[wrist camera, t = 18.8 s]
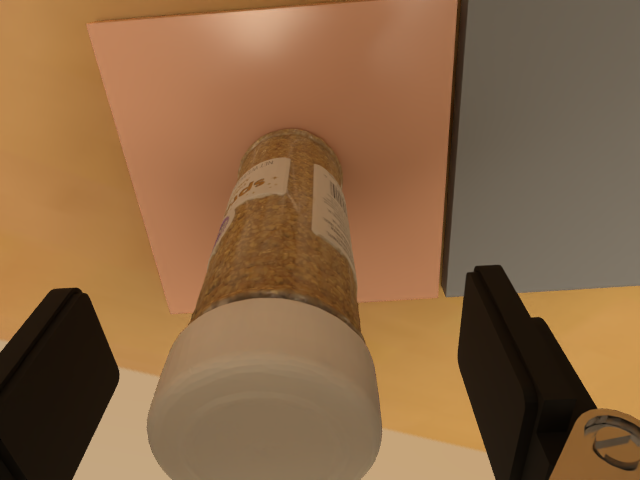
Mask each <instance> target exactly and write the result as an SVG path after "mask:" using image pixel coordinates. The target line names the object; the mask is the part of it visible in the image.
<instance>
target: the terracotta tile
mask: <svg viewBox="0 0 640 480" xmlns="http://www.w3.org/2000/svg"><path fill="white" fill-rule="evenodd" d="M457 1H458V0H354V1H341V2H329V3H316V4H304V5H292V6H279V7H267V8H254V9H242V10H229V11H217V12H204V13H192V14H180V15H167V16H155V17H142V18H130V19H117V20H105V21H95V22H92V23H88V24H86V26H87V29H88V33H89V36H90V40H91V43H92V46H93V50H94V53H95V57H96V60H97V64H98V67H99V70H100V74H101V77H102V81H103V84H104V88H105V91H106V94H107V98H108V101H109V105H110V108H111V112H112V115H113V118H114V122H115V125H116V129H117V132H118V136H119V139H120V142H121V146H122V149H123V153H124V156H125V160H126V163H127V166H128V170H129V173H130V177H131V180H132V184H133V187H134V190H135V194H136V197H137V201H138V204H139V208H140V211H141V214H142V218H143V221H144V225H145V228H146V232H147V235H148V238H149V242H150V245H151V249H152V252H153V256H154V259H155V262H156V266H157V269H158V273H159V276H160V280H161V283H162V286H163V290H164V293H165V297H166V300H167V304H168V307H169V310H170V314H180V313H193V312H194V310H195V308H196V304H197V300H198V297H199V294H200V291H201V289H202V286H203V283H204V280H205V275H206V273H207V266H208V261H209V259H210V256H211V253H212V250H213V247H214V245H215V242H216V239H217V236H218V233H219V230H220V227H221V224H222V221H223V217H224V214H225V211H226V208H227V205H228V202H229V199H230V196H231V193H232V191H233V189H234V187H235V185H236V183H237V180H238V169H239V166H240V161H241V159H242V157H243V156H244V154H245V153H246V151H247V150H248V149H249V147H250V146H251V145H252V144H253V143H254V142H255V141H257V140H258V139H259V138H260V137H262V136H264V135H266V134H268V133H271V132H274V131H279V130H282V129H300V130H304V131H307V132H309V133H311V134H313V135H315V136H316V137H319V138H321V139H322V140H323V141H324V142H325V143H326V144H328V146H329V147H330V148H331V149H333V151H334V153H335V154H336V156H337V158H338V160H339V162H340V164H341V168H342V172H343V185H342V192H343V194H344V197H345V201H346V208H347V215H348V222H349V229H350V237H351V245H352V251H353V258H354V264H355V271H356V278H357V302H358V303H361V302H377V301H394V300H410V299H426V298H438V290H439V275H440V259H441V244H442V229H443V214H444V199H445V183H446V168H447V153H448V138H449V122H450V107H451V92H452V77H453V62H454V46H455V31H456V16H457Z"/></svg>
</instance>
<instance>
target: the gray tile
mask: <svg viewBox="0 0 640 480" xmlns="http://www.w3.org/2000/svg"><path fill="white" fill-rule="evenodd" d="M482 265H501V266H502V267H503V269H504V271H505V273H506V274H507V276H508V278H509V280H510V282H511V283H512V285H513V287H514V289H515V290H516V292H517V293H525V292H541V291H558V290H574V289H591V288H607V287H623V286H640V0H461V10H460V25H459V39H458V54H457V68H456V83H455V97H454V112H453V126H452V141H451V155H450V169H449V184H448V198H447V213H446V227H445V242H444V256H443V271H442V285H441V286H442V288H443V291H444V293H445V296H446V297H459V296H464V289H465V280H466V274H467V273H468V272H473V271H474V268H475V266H482Z"/></svg>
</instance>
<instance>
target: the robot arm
mask: <svg viewBox="0 0 640 480" xmlns="http://www.w3.org/2000/svg"><path fill="white" fill-rule="evenodd" d="M458 364H459V369H460V372H461V375H462V378H463V381H464V384H465V387H466V390H467V393H468V396H469V399H470V402H471V405H472V409H473V412H474V415H475V418H476V421H477V424H478V427H479V430H480V433H481V436H482V439H483V442H484V445H485V448H486V451H487V455H488V457H489V460H490V464H491V467H492V470H493V473H494V476H495V479H496V480H640V420H638V419H636V418H634V417H633V416H631V415H629V414H626V413H623V412H620V411H617V410H611V409H603V408H601V409H597V407H596V405H595V404H594V402H593V400H592V399H591V397H590V395H589V394H588V392H587V390H586V389H585V387H584V385H583V384H582V382H581V380H580V379H579V377H578V375H577V374H576V372H575V370H574V369H573V367H572V365H571V364H570V362H569V360H568V359H567V357H566V355H565V354H564V352H563V350H562V349H561V347H560V345H559V344H558V342H557V340H556V339H555V337H554V335H553V334H552V332H551V330H550V329H549V327H548V325H547V324H546V322H545V321H544V320H543V319H542V318H540V317H534V318H531V317H530V315H529V313H528V311H527V310H526V308H525V306H524V304H523V303H522V301H521V299H520V297H519V296H518V294H517V292H516V290H515V289H514V287H513V285H512V283H511V282H510V280H509V278H508V276H507V274H506V273H505V271H504V269H503V267H502V266H501V265H482V266H475V268H474V271H473V272H468V273H467V274H466V280H465V289H464V299H463V308H462V318H461V327H460V336H459V346H458ZM118 382H119V369H118V366H117V364H116V361H115V359H114V357H113V354H112V352H111V349H110V347H109V344H108V342H107V339H106V337H105V334H104V332H103V330H102V327H101V325H100V322H99V320H98V317H97V315H96V312H95V310H94V307H93V305H92V302H91V300H90V298H89V296H88V295H87V294H86V293H82V291H81V290H80V289H79V288H61V289H53V290H51V291H50V292H49V293H48V294H47V295H46V297H45V298H44V299H43V300H42V302H41V303H40V304H39V305H38V307H37V308H36V309H35V310H34V311H33V313H32V314H31V315H30V316H29V318H28V319H27V320H26V321H25V323H24V324H23V325H22V326H21V328H20V329H19V330H18V331H17V333H16V334H15V335H14V336H13V337H12V339H11V340H10V341H9V342H8V344H7V345H6V346H5V347H4V349H3V350H2V351H1V352H0V480H72V479H73V477H74V475H75V472H76V470H77V468H78V466H79V464H80V462H81V460H82V458H83V456H84V454H85V452H86V449H87V447H88V445H89V443H90V441H91V439H92V437H93V435H94V433H95V431H96V429H97V426H98V424H99V422H100V420H101V418H102V416H103V414H104V412H105V409H106V408H107V405H108V403H109V401H110V399H111V397H112V395H113V393H114V391H115V389H116V387H117V385H118Z"/></svg>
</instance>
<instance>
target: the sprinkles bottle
mask: <svg viewBox="0 0 640 480" xmlns="http://www.w3.org/2000/svg"><path fill="white" fill-rule="evenodd" d="M342 185H343V172H342V168H341V164H340V162H339V160H338V158H337V156H336V154H335V153H334V151H333V149H331V148H330V147H329V146H328V144H326V143H325V142H324V141H323V140H322V139H321V138H319V137H316V136H315V135H313V134H311V133H309V132H307V131H304V130H300V129H282V130H279V131H274V132H271V133H268V134H266V135H264V136H262V137H260V138H259V139H258V140H257V141H255V142H254V143H253V144H252V145H251V146H250V147H249V149H248V150H247V151H246V153H245V154H244V156H243V157H242V159H241V161H240V166H239V169H238V180H237V183H236V185H235V187H234V189H233V191H232V193H231V196H230V199H229V202H228V205H227V208H226V211H225V214H224V217H223V221H222V224H221V227H220V230H219V233H218V236H217V239H216V242H215V245H214V247H213V250H212V253H211V256H210V259H209V261H208V266H207V273H206V275H205V280H204V283H203V286H202V289H201V291H200V294H199V297H198V300H197V304H196V308H195V310H194V312H193V314H192V318H191V321H190V323H189V324H188V326H187V327H186V328H185V329H184V330H183V331H182V332H181V333H180V335H179V336H178V338H177V339H176V341H175V342H174V344H173V346H172V348H171V350H170V352H169V355H168V357H167V360H166V363H165V365H164V368H163V371H162V373H161V376H160V379H159V382H158V385H157V388H156V391H155V394H154V397H153V400H152V403H151V407H150V410H149V414H148V419H147V432H148V440H149V444H150V447H151V450H152V453H153V455H154V457H155V458H156V460H157V462H158V464H159V465H160V467H161V468H162V469H163V470H164V472H165V473H166V474H167V475H168V476H169V477H170V478H171V479H172V480H361V478H362V477H363V476H364V475H365V474H366V473H367V472H368V470H369V469H370V468H371V466H372V465H373V463H374V461H375V459H376V457H377V454H378V452H379V448H380V444H381V438H382V422H381V412H380V403H379V394H378V387H377V381H376V374H375V367H374V364H373V360H372V357H371V355H370V352H369V350H368V348H367V346H366V344H365V341H364V338H363V335H362V334H361V328H360V319H359V311H358V302H357V278H356V271H355V264H354V258H353V251H352V245H351V237H350V229H349V222H348V215H347V208H346V201H345V197H344V194H343V192H342Z"/></svg>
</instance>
